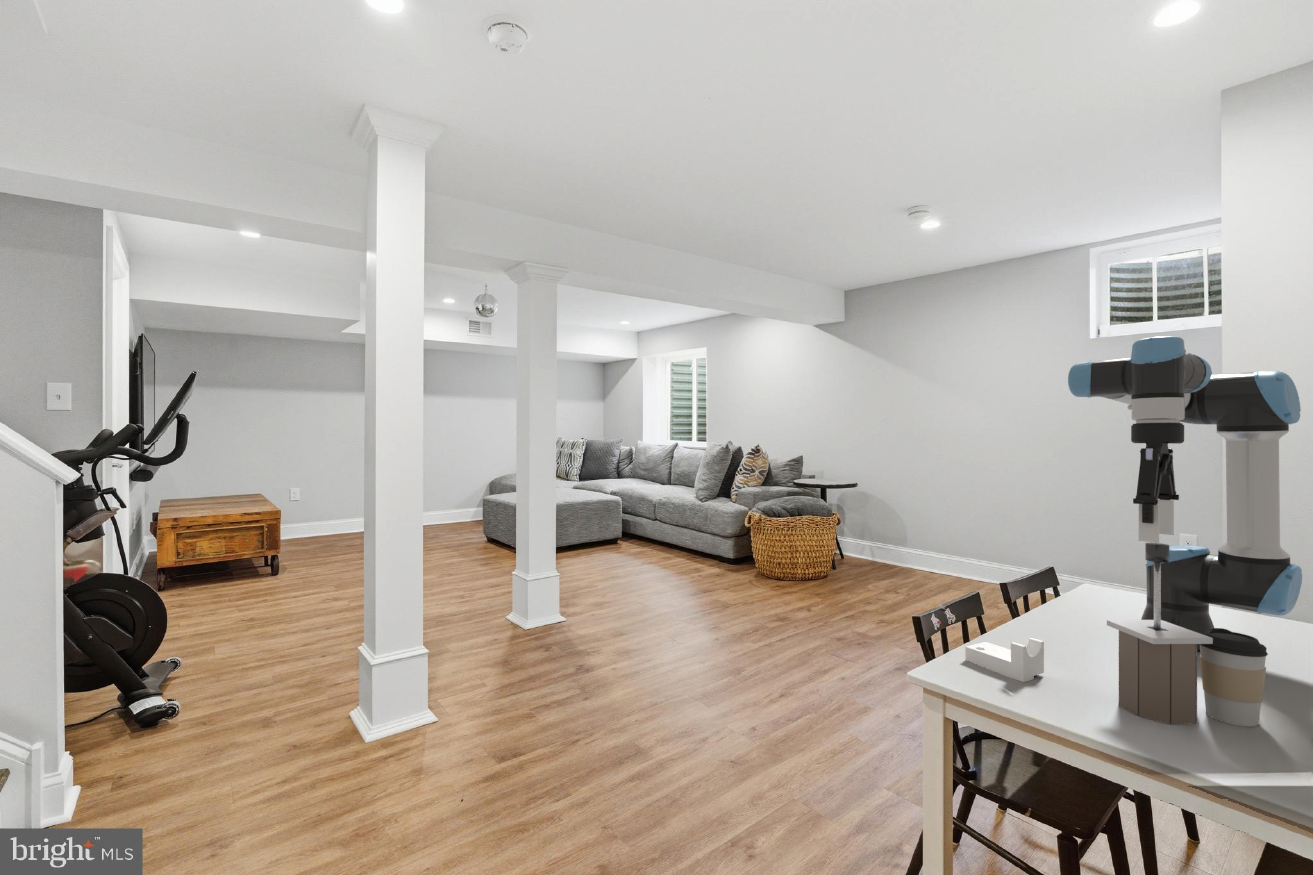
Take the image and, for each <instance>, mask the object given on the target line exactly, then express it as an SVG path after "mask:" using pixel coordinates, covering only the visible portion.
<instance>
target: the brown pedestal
mask: <svg viewBox="0 0 1313 875" xmlns="http://www.w3.org/2000/svg"><path fill="white" fill-rule="evenodd" d="M1106 626H1108V627H1110V628H1113V629H1115V630H1117V631H1118V706H1119V707H1121V708H1123V709H1125V710H1126V711H1129V713H1132V714H1134V715H1135V716H1138V717H1140V718H1144V719H1148V720H1153V721H1155V722H1156V721H1157V722H1159V723H1164V724H1168V725H1197V719H1198V650H1197V644H1213V638H1211V637H1208V636H1205V635H1203V634H1200V633H1197V632H1194V631H1191V630H1188V629H1186V628H1183V627H1180V626H1177V625H1174V624H1171V623H1169V622H1166V621H1163V620H1161V631H1156V630H1154V620H1141V619H1106Z"/></svg>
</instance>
